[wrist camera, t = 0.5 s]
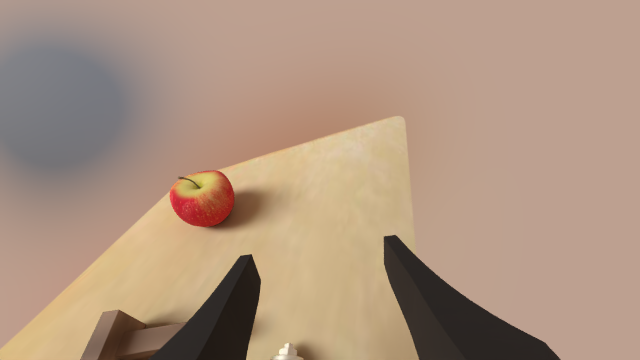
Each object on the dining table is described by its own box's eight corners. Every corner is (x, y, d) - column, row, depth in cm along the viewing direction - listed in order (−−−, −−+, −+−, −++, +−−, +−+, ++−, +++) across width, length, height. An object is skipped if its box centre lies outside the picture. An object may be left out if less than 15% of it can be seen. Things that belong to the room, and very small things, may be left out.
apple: (174, 226, 37) (138, 180, 30) (213, 190, 42) (190, 144, 35) (215, 246, 34) (186, 200, 27) (250, 204, 40) (234, 158, 33)
